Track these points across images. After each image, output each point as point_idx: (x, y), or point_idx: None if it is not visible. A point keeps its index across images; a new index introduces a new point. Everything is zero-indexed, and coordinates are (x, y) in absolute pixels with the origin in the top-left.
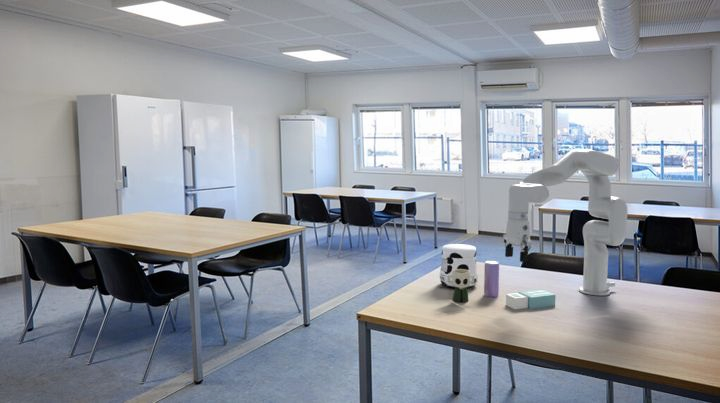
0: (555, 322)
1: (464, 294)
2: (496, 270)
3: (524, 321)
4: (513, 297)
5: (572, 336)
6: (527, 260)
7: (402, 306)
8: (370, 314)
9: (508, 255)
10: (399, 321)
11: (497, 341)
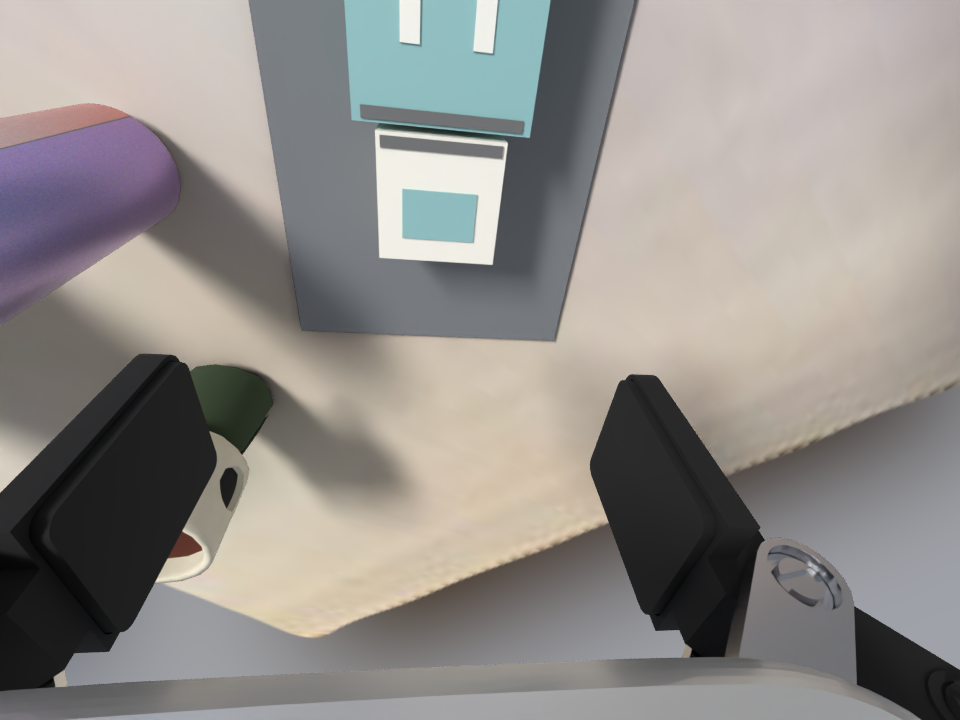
0: (764, 158)
1: (252, 424)
2: (11, 245)
3: (638, 299)
4: (471, 263)
5: (912, 239)
6: (658, 384)
7: (261, 566)
8: (323, 629)
9: (198, 447)
10: (410, 599)
11: None
